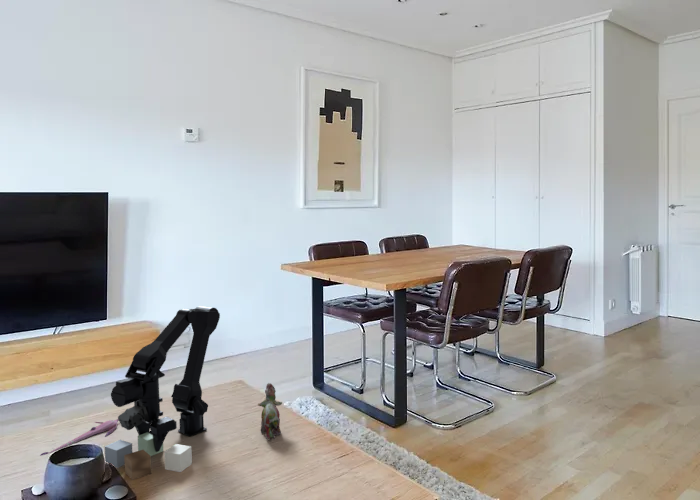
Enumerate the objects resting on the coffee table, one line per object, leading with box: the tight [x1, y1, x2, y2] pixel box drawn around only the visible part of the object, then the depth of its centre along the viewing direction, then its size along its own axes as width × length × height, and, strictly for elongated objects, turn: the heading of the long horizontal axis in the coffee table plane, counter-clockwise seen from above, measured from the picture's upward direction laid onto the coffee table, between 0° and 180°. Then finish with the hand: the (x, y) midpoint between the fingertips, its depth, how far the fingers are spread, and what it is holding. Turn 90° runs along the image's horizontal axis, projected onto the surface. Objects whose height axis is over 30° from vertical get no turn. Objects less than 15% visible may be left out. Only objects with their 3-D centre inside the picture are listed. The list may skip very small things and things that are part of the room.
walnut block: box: [124, 450, 152, 481], centre depth 147 cm, size 5×5×5 cm
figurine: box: [257, 382, 283, 440], centre depth 172 cm, size 8×12×15 cm, turn 174°
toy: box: [39, 418, 119, 456], centre depth 170 cm, size 28×2×10 cm
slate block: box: [104, 439, 133, 469], centre depth 154 cm, size 5×5×5 cm
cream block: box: [163, 443, 193, 473], centre depth 151 cm, size 5×5×5 cm
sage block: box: [137, 432, 164, 457], centre depth 160 cm, size 5×5×5 cm
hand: (150, 448), depth 160 cm, fingers open, 7 cm apart
